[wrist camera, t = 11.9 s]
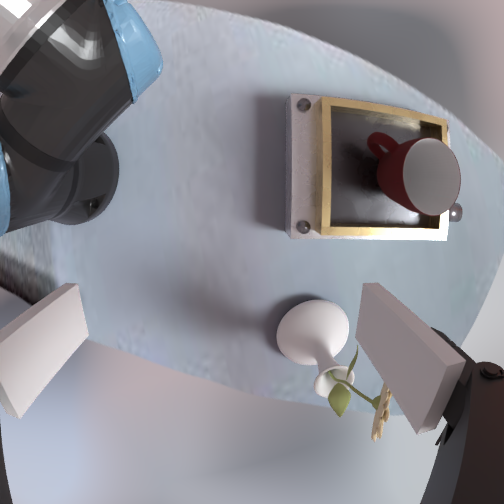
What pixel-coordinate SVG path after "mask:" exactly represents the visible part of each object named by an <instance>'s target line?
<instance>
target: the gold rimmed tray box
mask: <svg viewBox="0 0 504 504" xmlns="http://www.w3.org/2000/svg"><path fill="white" fill-rule="evenodd" d="M374 132H382V133H385V134H387V135H389V136H390V137H392V138H393V139H394V140H395V141H396V142H397V143H398V144H402V143H404V142H406V141H409V140H413V139H418V138H426V137H431V138H436V139H438V140H440V141H442V142H443V143H445V144H446V145H447V146H448V147H449V148H450V130H449V120H447V119H444V118H440V117H436V116H433V115H429V114H425V113H421V112H417V111H412V110H408V109H403V108H399V107H394V106H389V105H383V104H378V103H372V102H366V101H359V100H352V99H345V98H337V97H328V96H318V95H307V94H292V93H291V95H290V96H289V98H288V100H287V102H286V214H285V232H286V233H287V235H288V236H289V237H290V238H291V239H415V240H446V236H447V227H448V221H451V222H458V221H460V220H461V218H462V208H461V206H460V204H458V203H454V205H453V206H452V207H451V208H450V209H449V210H448V211H447V212H446V213H444V214H442V215H439V216H427V215H423V214H418V213H415V212H412V211H410V210H408V209H406V208H404V207H403V206H401V205H399V204H398V203H396V202H394V201H393V200H391V199H390V198H388V197H387V196H386V195H385V194H384V193H383V191H382V190H381V188H380V186H379V183H378V180H377V168H378V164H379V159H378V158H377V157H376V156H375V155H374V154H373V153H372V152H371V151H370V149H369V148H368V146H367V139H368V137H369V135H371V134H372V133H374ZM379 146H380V147H381V148H382V150H383V151H384V152H385V153H386V152H388V150H387V149H385V148H384V147H383V146H381V145H379Z"/></svg>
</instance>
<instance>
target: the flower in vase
mask: <svg viewBox="0 0 504 504" xmlns="http://www.w3.org/2000/svg"><path fill="white" fill-rule="evenodd" d="M348 333H349V322H348V318H347V316H346V314H345V312H344V311H343V310H342V308H340V307H339V306H338V305H336V304H335V303H333V302H330V301H327V300H310V301H306V302H303V303H301V304H299V305H297V306H295V307H293V308H292V309H291V310H290V311H288V312H287V313H286V314H285V316H284V317H283V318H282V320H281V322H280V323H279V326H278V329H277V335H276V338H277V344H278V347H279V349H280V351H281V352H282V353H283V354H284V355H285V356H286V357H287V358H288V359H290V360H291V361H293V362H295V363H298V364H302V365H316V364H318V369H319V375H318V376H317V377H316V379H315V382H314V390H315V392H316V393H317V394H318V395H320V396H322V397H328V401H329V403H330V405H331V407H332V408H333V410H334V411H335V412H336V414H337V415H338V416H339V417H341V416H342V415H343V413H344V411H345V410H346V408H347V406H348V404H349V401H350V398H351V394H350V392H349V390H348V389H349V388H351V389H352V390H353V391H354V392H355V393H357V394H358V395H359V396H361V397H362V398H364V399H365V400H367V401H368V402H370V403H372V405H373V407H374V408H375V409H376V413H375V417H374V422H373V428H372V436H371V438H372V439H374V442H375V440H376V436H377V438H378V437H379V439H380V438H381V436H382V431H383V421H384V422H387V421H388V418H389V408H388V406H389V403H390V398H391V397H392V393H391V392H390V390H389V389H388V387H387V385H386V384H385V382H384V384H383V387H382V390H381V394H380V396H377V397H375V398H374V399H373V400H371V399H370V398H368V397H367V396H365V395H364V394H362V393H361V392H359V391H358V390H357V389H355V388H354V387H353V386H352V384H353V382H354V373H353V371H352V369H353V367H354V364H355V362H356V359H357V355H358V345H357V352H356V355H355V357H354V359H353V360H352V362H351V364H350V366H349V367H347V366H343V365H339V364H338V363H337V362H336V361H335V359H334V358H333V357H334V356H335V355H336V354H337V353H338V352H339V351H340V350H341V349H342V348H343V346H344V345H345V343H346V341H347V338H348Z"/></svg>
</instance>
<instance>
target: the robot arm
mask: <svg viewBox="0 0 504 504" xmlns="http://www.w3.org/2000/svg"><path fill="white" fill-rule="evenodd" d="M162 68H163V60H162V56H161V53H160V50H159V48H158V46H157V44H156V42H155V40H154V38H153V36H152V35H151V33H150V31H149V30H148V28H147V26H146V25H145V23H144V22H143V20H142V19H141V17H140V16H139V14H138V13H137V12H136V10H135V9H134V8H133V6H132V5H131V4H130V3H128V2H127V0H0V92H2V93H3V94H2V96H1V98H0V236H3V234H5V233H8V232H11V231H14V230H17V229H20V228H23V227H27V226H30V225H33V224H36V223H40V222H43V221H46V220H51V221H54V222H58V223H61V224H65V225H77V224H81V223H84V222H87V221H90V220H92V219H94V218H95V217H97V216H98V215H99V214H101V213H102V212H103V211H104V210H105V208H106V207H107V206H108V204H109V203H110V201H111V200H112V198H113V196H114V193H115V190H116V187H117V183H118V178H119V161H118V156H117V152H116V149H115V147H114V145H113V143H112V141H111V140H110V138H109V137H108V136H107V135H106V134H105V133H104V131H105V130H106V129H107V128H108V126H109V125H110V124H111V123H112V122H113V121H114V120H115V119H116V118H117V117H118V116H119V115H120V114H122V113H123V112H124V111H125V110H126V109H127V108H128V107H129V106H130V105H131V104H134V103H135V102H136V101H137V99H138V97H139V96H140V95H141V94H142V93H143V92H144V91H145V90H146V89H147V88H148V87H149V86H150V85H151V84H152V83H153V82H154V81H155V80H156V79H157V78H158V77H159V76H160V74H161V72H162ZM88 335H89V333H88V329H87V325H86V321H85V316H84V312H83V307H82V302H81V297H80V292H79V287H78V284H75V283H65V284H64V285H62V286H61V287H59V288H58V289H56V290H55V291H53V292H52V293H50V294H49V295H48V296H46V297H45V298H43V299H42V300H40V301H39V302H38V303H36V304H35V305H33V306H32V307H31V308H29V309H28V310H27V311H25V312H24V313H22V314H21V315H20V316H18V317H17V318H16V319H14V320H13V321H12V322H11V323H9V324H8V325H7V326H5V327H4V328H2V329H1V330H0V402H1V404H2V406H3V407H4V409H5V411H6V413H8V414H10V415H12V416H14V417H16V418H19V419H20V418H21V417H22V416H23V414H24V413H25V412H26V411H27V409H28V408H29V406H30V405H31V404H32V403H33V401H34V400H35V399H36V398H37V396H38V395H39V394H40V393H41V391H42V390H43V389H44V388H45V386H46V385H47V384H48V383H49V381H50V380H51V379H52V378H53V376H54V375H55V374H56V373H57V372H58V370H59V369H60V368H61V367H62V366H63V364H64V363H65V362H66V361H67V360H68V358H69V357H70V356H71V355H72V354H73V352H74V351H75V350H76V349H77V348H78V347H79V346H80V344H81V343H82V342H83V341H84V340H85V339H86V338H87V337H88ZM355 338H356V339H357V341H358V342H359V344H360V345H361V347H362V348H363V350H364V351H365V353H366V354H367V356H368V357H369V359H370V360H371V362H372V364H373V365H374V367H375V368H376V370H377V371H378V373H379V374H380V376H381V378H382V379H383V381H384V382H385V384H386V385H387V387H388V389H389V390H390V392H391V393H392V395H393V396H394V398H395V400H396V401H397V403H398V404H399V406H400V408H401V409H402V411H403V413H404V414H405V416H406V417H407V419H408V421H409V422H410V424H411V426H412V427H413V429H414V430H415V432H416V434H417V435H418V434H421V433H424V432H427V431H430V430H433V429H435V428H436V427H437V425H438V423H439V421H440V419H441V417H442V415H443V417H444V418H445V419H446V421H447V424H446V426H445V428H444V430H443V432H442V433H441V435H440V437H439V439H438V440H437V442H436V444H435V445H438V444H439V442H440V441H441V442H440V446H439V449H438V453H437V456H436V460H435V463H434V466H433V469H432V472H431V476H430V479H429V481H428V484H427V487H426V490H425V493H424V495H423V498H422V500H421V503H420V504H504V370H503V369H502V368H501V367H500V366H498V365H496V364H494V363H491V362H479V363H475V361H474V360H472V359H471V358H470V357H469V356H468V355H467V354H466V353H465V352H464V351H463V350H462V349H460V348H459V347H458V346H456V344H455V343H454V342H453V341H450V339H449V338H448V337H447V336H446V335H445V334H444V333H442V332H440V331H438V330H436V329H434V328H432V327H431V328H430V327H429V326H428V325H427V324H426V323H424V322H423V321H422V320H421V319H420V318H419V317H418V316H417V315H415V314H414V313H413V312H412V311H411V310H410V309H408V308H407V307H406V306H405V305H404V304H403V303H402V302H400V301H399V300H398V299H397V298H396V297H394V296H393V295H392V294H391V293H390V292H389V291H387V290H386V289H385V288H384V287H383V286H381V285H380V284H379V283H363V288H362V296H361V303H360V310H359V317H358V323H357V330H356V336H355ZM0 504H13V503H12V499H11V494H10V490H9V485H8V480H7V475H6V469H5V463H4V456H3V448H2V438H1V427H0Z"/></svg>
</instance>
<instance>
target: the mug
mask: <svg viewBox="0 0 504 504" xmlns="http://www.w3.org/2000/svg"><path fill="white" fill-rule="evenodd" d="M379 145H381V146H383V147H384V148H385V149H387V150H388V152H386V153H385V152H384V151H383V150H382V148H381V147H380V146H379ZM367 146H368V148H369V149H370V151H371V152H372V153H373V154H374V155H375V156H376V157H377V158H378V159H379V164H378V168H377V180H378V183H379V186H380V188H381V190H382V191H383V193H384V194H385V195H386V196H387V197H388V198H390V199H391V200H393V201H394V202H396V203H398V204H399V205H401V206H403V207H404V208H406V209H408V210H410V211H412V212H415V213H418V214H423V215H427V216H439V215H442V214H444V213H446V212H447V211H448V210H449V209H450V208H451V207H452V206H453V205H454V203H455V201H456V199H457V197H458V194H459V191H460V184H461V175H460V169H459V165H458V162H457V159H456V157H455V155H454V154H453V152H452V151H451V149H450V148H449V147H448V146H447V145H446V144H445V143H443V142H442V141H440V140H438V139H436V138H431V137H426V138H418V139H413V140H409V141H406V142H404V143H402V144H398V143H397V142H396V141H395V140H394V139H393V138H392V137H390V136H389V135H387V134H385V133H382V132H374V133H372V134H371V135H369V137H368V139H367Z"/></svg>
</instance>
